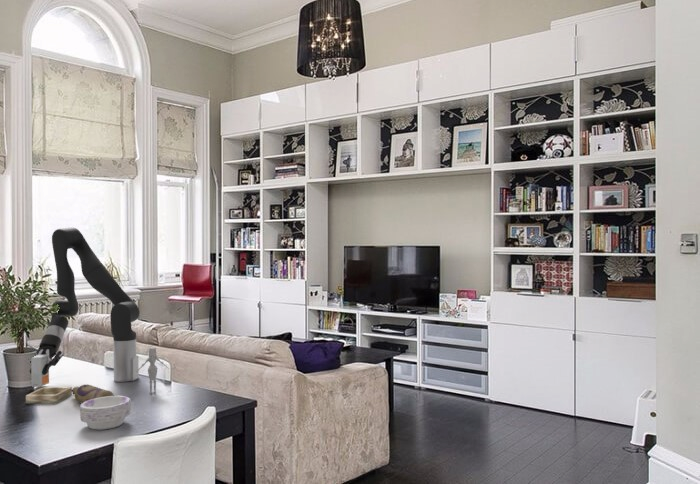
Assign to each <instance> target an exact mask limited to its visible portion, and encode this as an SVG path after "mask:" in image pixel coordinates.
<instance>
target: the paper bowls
mask: <svg viewBox="0 0 700 484" xmlns="http://www.w3.org/2000/svg"><path fill="white" fill-rule="evenodd" d="M79 408H80V409H79V416H80V417H79V418H80V421H81V422H82V423H86V424H87V426H88V428H89V429H91V430H95V431H96V430H99V431H100V430H109V429H114V428H117V427H119V426H121V425H123V423H124V421H125V419H126V418H127V417H128V416H130V415H131V398H130V397H129V396H124V395H114V396H106V397H100V398H95V399H91V400H88V401H85V402H83V403H81V404H80V405H79Z"/></svg>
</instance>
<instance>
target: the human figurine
mask: <svg viewBox="0 0 700 484" xmlns="http://www.w3.org/2000/svg"><path fill="white" fill-rule="evenodd" d="M157 361H158V362H159V363H160V364H161V365H163V367H166V368H167V369H169V367H168V366H167V365H166V364H165V363H164V362H163V361H161V359H159V357H158V356H157V348H156V347H149V350H148V357H147V359H146V360H145V361H144V362H143V363H142V364H141V365H140V366H139V367H138V368H139V369H138V371H140V369H142V368H143V367H144V366H145V365H146V364H147V363H148V362H149V365H148V368H147V374H148V378H149V382H148V383H149V394H150V395H152V394H154V395H155V394H156V393H157V390H156V389H157V380H156V379H157V374H158V367H157V365H156V364H155V363H156V362H157ZM138 371H137V372H138ZM152 389H153V390H154V391H152Z"/></svg>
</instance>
